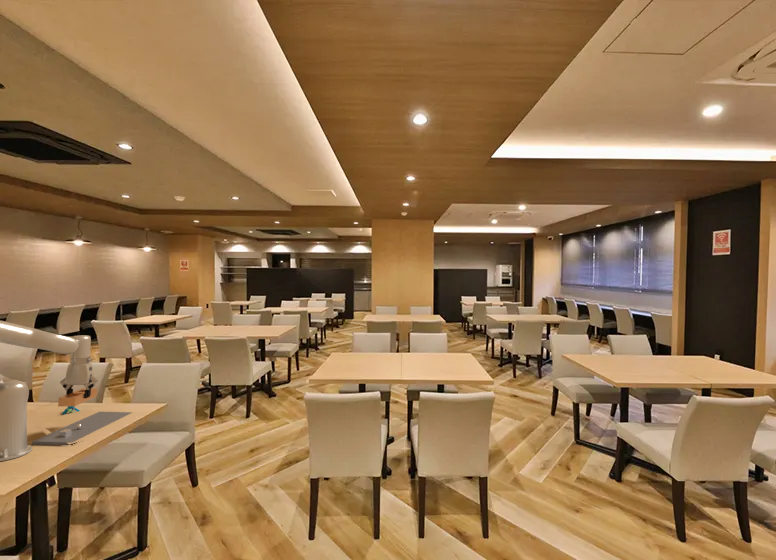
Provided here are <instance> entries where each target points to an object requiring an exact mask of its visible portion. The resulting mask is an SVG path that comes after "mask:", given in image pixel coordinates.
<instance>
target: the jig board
mask: <svg viewBox="0 0 776 560" xmlns="http://www.w3.org/2000/svg"><path fill="white" fill-rule="evenodd" d="M133 413H134V412H131V411H129V412H126V411H97V412H95V413H93V414H91V415H89V416H86V417H84V418H82V419H80V420H77V421H75V422H73V423H70V424H68V425H66V426H64V427H61V428H58V429H57V430H54V431H52V432H50V433H48V434H46V435H45V434H44V435H43V436H41V437H39V438H37V439H34V440H32V442H31V446H32V445H35V446H37V445H38V446H39V445H40V446H62V445H73V444H75V443H77V442H78V440H81V439H82V438H85V437H86V436H88V435H90V434H92V433H94V432H96V431H98V430H101V429H102V428H104V427H107V426H108V425H110V424H113V423H114V422H117V421H119V420H120V419H123V418H125V417H126V416H128V415H130V414H133ZM77 444H78V443H77ZM75 445H76V444H75ZM73 446H74V445H73Z"/></svg>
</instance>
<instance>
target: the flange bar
mask: <svg viewBox="0 0 776 560" xmlns="http://www.w3.org/2000/svg"><path fill="white" fill-rule="evenodd" d="M85 390H86V388H85V387H84V388H83V387H82V388H80V389H78V390H75V391H74V390H73V392H72V393H70V394H67V395H66V394H65V395H63V396H59V397H58V401H57V402H58V403H57V406H58V407H68V406H75V407H77V406H78V405H80V404H83V403H85V402H88V401H89V400H91V399H94V398H95V397H97V396H98V388H95V387H92V388H91V395H90V397H88V398H85Z"/></svg>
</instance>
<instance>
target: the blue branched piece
mask: <svg viewBox="0 0 776 560" xmlns="http://www.w3.org/2000/svg"><path fill="white" fill-rule="evenodd" d="M75 411H76V412H80V411H81V410H80V409H78V408H76V406H67V408H65V409H64V411H63V412H62V413H61V415H62V416H64V415H66V414H67V413H69V414H74V413H75Z"/></svg>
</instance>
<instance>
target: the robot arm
mask: <svg viewBox="0 0 776 560" xmlns="http://www.w3.org/2000/svg"><path fill="white" fill-rule="evenodd" d="M91 338H92V337H91V335H85V334H84V335H83V334H82V335H73V336H66V335H61V334H57V333H53V332H50V331H49V332H48V331H45V330H41V329H38V328H33V327H29V326H26V325H25V326H24V325H21V324H17V323H12V322H9V321H4V320H0V343H2V344H6V345H11V346H16V347H20V348H21V347H22V348H26V349H27V348H28V349H39V350H43V351H48V352H53V353H56V354H63V355H69V364H68V365H67V368H66V373H65V377H64V378H63V379H62V380H60V381H59V384H60V385H61V386H62V387H63V388H64V390H65V391H66V393H65V395H67V394H70V393H72V392H74V388H73V387H74V386H83V387H84V388H86V390H85V398H88V397H90V395H91V388H94V387H95V386H96V384H98V383H99V380H98V379H97V378H96V377H94V365H93V363H92V362H93V358H92V357H91V348H92V347H91V343H92V339H91ZM29 395H30V390H29V387H28V385H27V384H26V383H25V382H23V381H21V380H18V379H13V378H10V377H7V376H5V375H3V374H1V372H0V462H3V461H5V462H6V461H9V460H14V459H16V458H19V457H22V456H24V455H27V454H29V453H30V452H32V450H33V446H32V444H31V445H30V444H28V413H27V412H28V399H29Z"/></svg>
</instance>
